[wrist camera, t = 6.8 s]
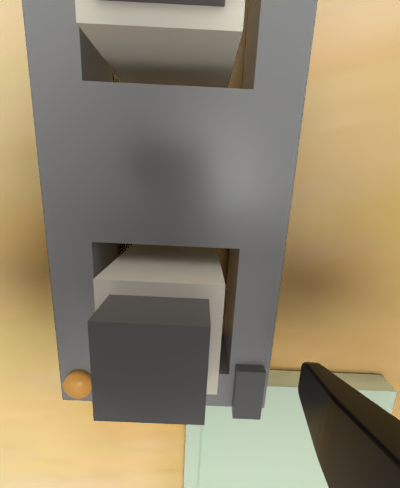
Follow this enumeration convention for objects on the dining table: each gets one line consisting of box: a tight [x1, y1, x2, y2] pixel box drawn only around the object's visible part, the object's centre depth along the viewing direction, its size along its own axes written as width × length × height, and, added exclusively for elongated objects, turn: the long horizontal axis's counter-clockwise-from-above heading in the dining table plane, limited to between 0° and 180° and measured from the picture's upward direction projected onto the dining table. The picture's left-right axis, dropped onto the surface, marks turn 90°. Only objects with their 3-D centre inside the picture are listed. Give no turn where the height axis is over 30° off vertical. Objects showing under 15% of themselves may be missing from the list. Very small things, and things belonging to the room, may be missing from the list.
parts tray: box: [184, 370, 397, 488], centre depth 15 cm, size 11×11×1 cm
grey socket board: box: [22, 0, 318, 420], centre depth 10 cm, size 9×20×3 cm, turn 177°
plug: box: [87, 244, 226, 425], centre depth 10 cm, size 4×4×6 cm
